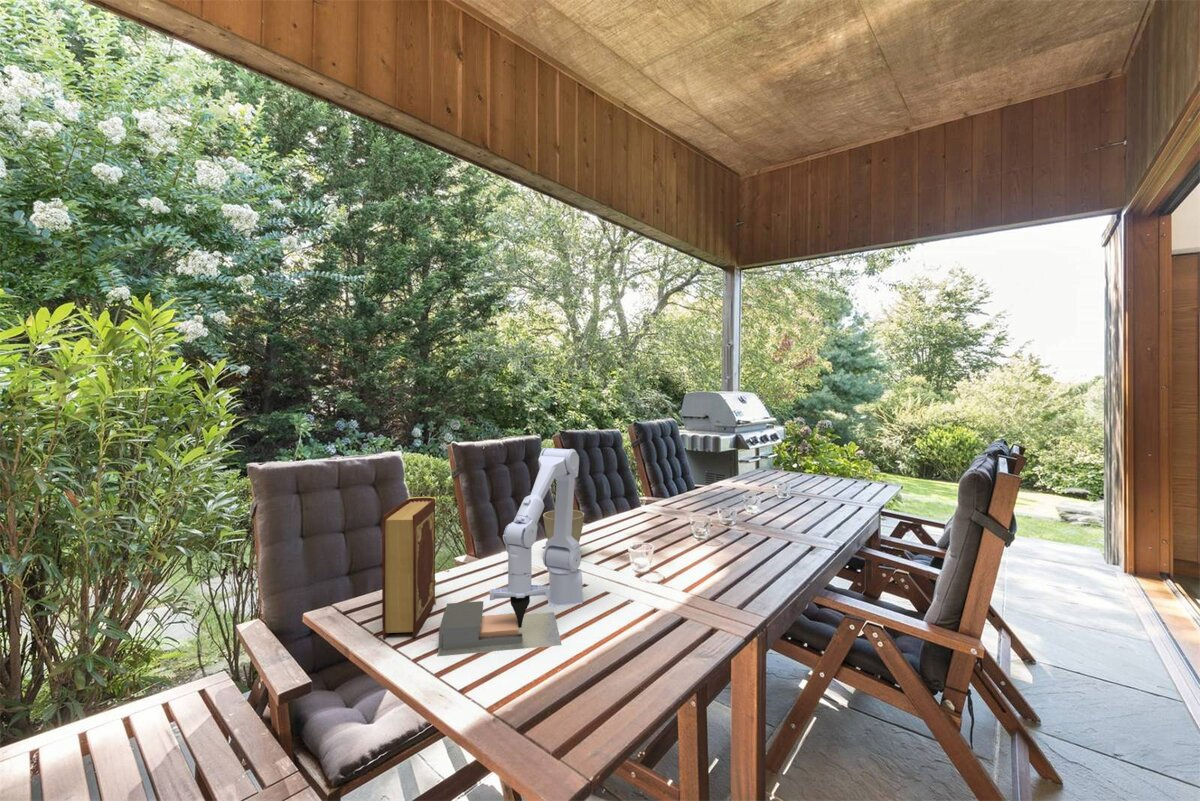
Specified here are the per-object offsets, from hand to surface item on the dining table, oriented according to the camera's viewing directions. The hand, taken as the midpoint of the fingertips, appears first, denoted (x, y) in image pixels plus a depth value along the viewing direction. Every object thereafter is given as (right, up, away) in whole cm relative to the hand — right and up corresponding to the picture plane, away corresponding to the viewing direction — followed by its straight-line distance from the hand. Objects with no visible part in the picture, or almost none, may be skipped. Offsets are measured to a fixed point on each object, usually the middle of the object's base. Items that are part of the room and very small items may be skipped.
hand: (519, 625), depth 124 cm
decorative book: (-30, -2, +8) cm, 31 cm away
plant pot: (+7, -2, +57) cm, 58 cm away
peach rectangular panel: (-8, -1, -2) cm, 9 cm away
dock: (-4, -2, -1) cm, 5 cm away
